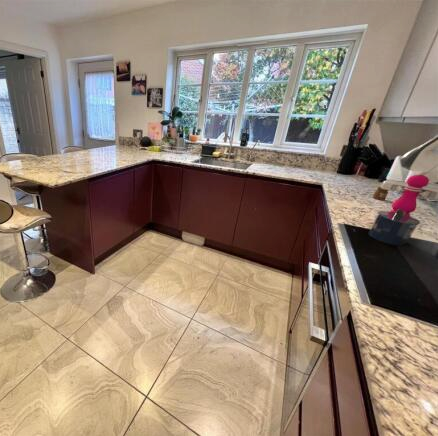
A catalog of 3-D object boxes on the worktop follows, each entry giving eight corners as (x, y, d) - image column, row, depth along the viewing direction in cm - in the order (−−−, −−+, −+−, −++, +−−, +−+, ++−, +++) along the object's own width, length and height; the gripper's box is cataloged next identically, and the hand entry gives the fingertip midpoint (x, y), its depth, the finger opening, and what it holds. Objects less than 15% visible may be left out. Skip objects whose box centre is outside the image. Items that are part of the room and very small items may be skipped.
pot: (413, 245, 93) (426, 224, 89) (387, 245, 92) (399, 224, 88) (385, 231, 104) (395, 212, 100) (361, 231, 103) (370, 212, 99)
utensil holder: (369, 197, 150) (378, 179, 145) (378, 197, 151) (386, 179, 146) (378, 200, 145) (388, 181, 140) (387, 200, 145) (397, 181, 140)
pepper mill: (392, 217, 100) (417, 172, 92) (384, 211, 106) (406, 168, 98) (414, 220, 98) (441, 174, 89) (404, 214, 104) (428, 170, 96)
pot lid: (428, 226, 89) (434, 216, 87) (398, 226, 88) (404, 216, 86) (394, 213, 100) (399, 204, 99) (368, 213, 99) (372, 204, 98)
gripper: (387, 175, 111) (381, 179, 103) (453, 186, 97) (452, 192, 89) (381, 188, 113) (375, 193, 106) (444, 200, 99) (443, 207, 91)
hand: (411, 192), depth 97 cm, fingers closed on pepper mill, 5 cm apart
